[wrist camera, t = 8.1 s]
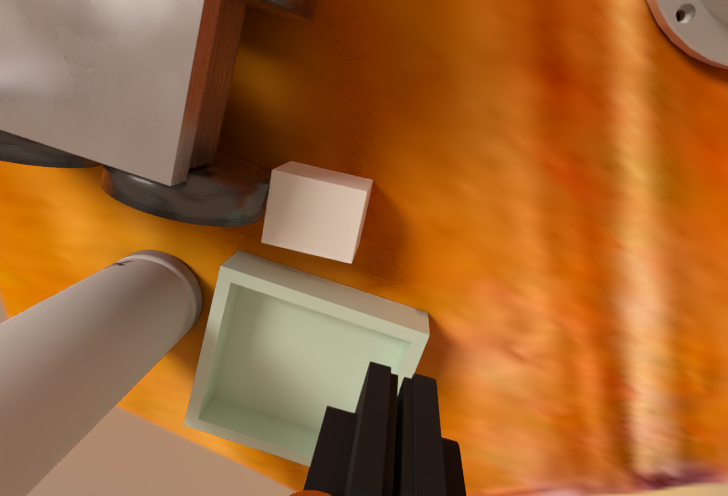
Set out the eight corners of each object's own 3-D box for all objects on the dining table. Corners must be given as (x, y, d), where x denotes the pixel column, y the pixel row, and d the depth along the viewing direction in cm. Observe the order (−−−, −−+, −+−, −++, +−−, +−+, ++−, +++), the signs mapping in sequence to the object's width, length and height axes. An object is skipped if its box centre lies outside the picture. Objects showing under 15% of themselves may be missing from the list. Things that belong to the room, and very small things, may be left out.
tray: (428, 312, 29) (429, 335, 27) (372, 453, 33) (368, 486, 30) (238, 250, 29) (220, 265, 27) (203, 397, 33) (183, 425, 30)
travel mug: (121, 231, 30) (-391, 453, 11) (216, 273, 30) (-122, 564, 11) (99, 311, 32) (-369, 619, 13) (188, 350, 32) (-140, 710, 13)
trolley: (335, -7, 25) (72, -395, 6) (280, 204, 28) (8, 409, 9) (30, -109, 25) (-1281, -844, 6) (15, 116, 28) (-803, 139, 9)
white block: (373, 179, 27) (367, 191, 24) (359, 242, 29) (351, 263, 25) (291, 160, 28) (272, 169, 24) (281, 224, 29) (261, 242, 25)
